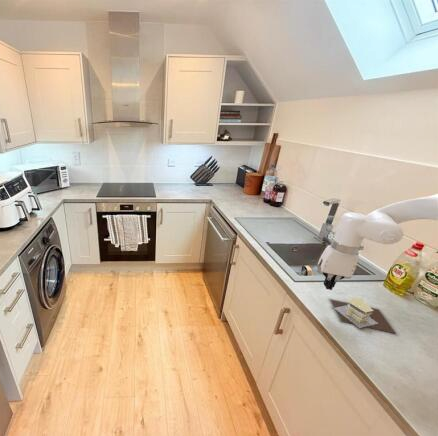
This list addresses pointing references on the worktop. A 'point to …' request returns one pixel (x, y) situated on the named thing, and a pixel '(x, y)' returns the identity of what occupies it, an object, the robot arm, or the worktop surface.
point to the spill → (375, 315)
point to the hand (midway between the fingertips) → (327, 287)
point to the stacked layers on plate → (357, 313)
